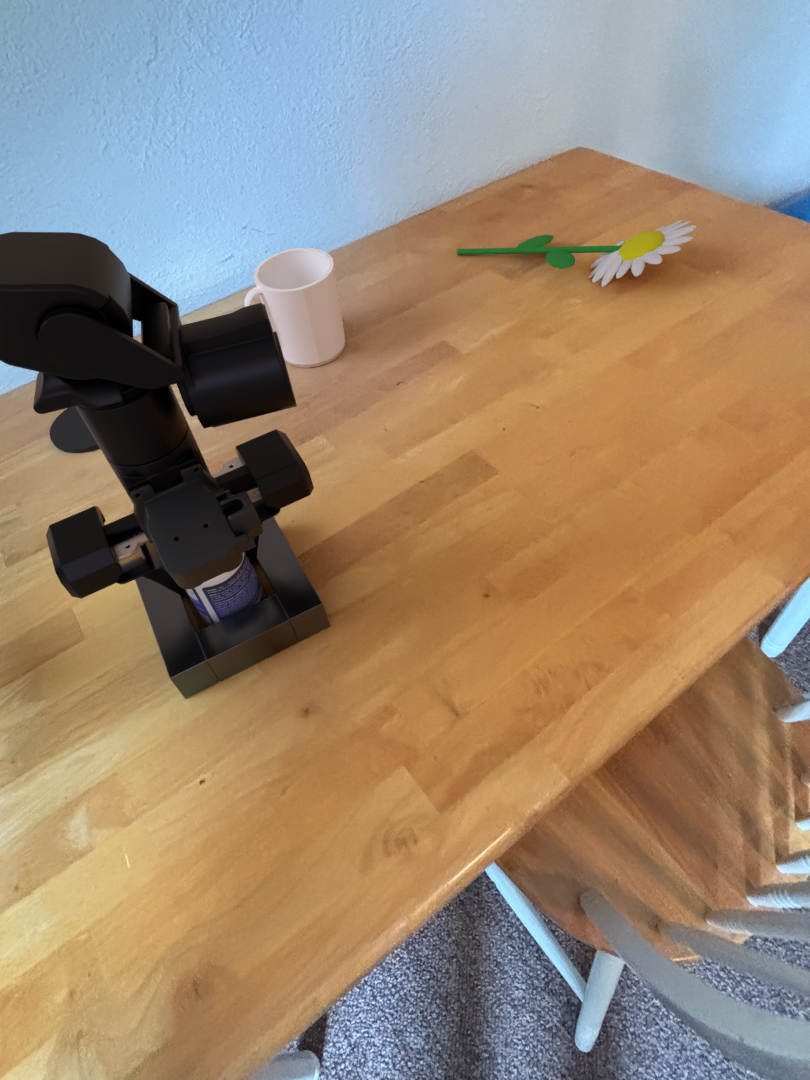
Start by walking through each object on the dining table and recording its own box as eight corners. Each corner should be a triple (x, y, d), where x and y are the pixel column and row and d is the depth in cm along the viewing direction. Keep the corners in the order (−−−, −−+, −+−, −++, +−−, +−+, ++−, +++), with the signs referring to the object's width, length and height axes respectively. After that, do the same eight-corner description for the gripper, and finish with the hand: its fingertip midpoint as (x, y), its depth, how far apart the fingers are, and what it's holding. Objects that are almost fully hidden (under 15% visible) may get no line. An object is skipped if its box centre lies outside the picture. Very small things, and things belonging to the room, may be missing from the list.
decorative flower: (443, 295, 94) (683, 297, 81) (437, 259, 90) (686, 256, 77) (477, 251, 101) (701, 247, 88) (472, 217, 98) (704, 207, 85)
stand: (185, 699, 57) (169, 678, 54) (145, 588, 65) (129, 564, 62) (331, 626, 60) (323, 603, 57) (275, 528, 68) (266, 503, 65)
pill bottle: (273, 580, 64) (241, 506, 56) (258, 635, 60) (222, 564, 52) (212, 579, 64) (173, 506, 57) (194, 633, 61) (149, 562, 53)
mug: (327, 317, 89) (310, 239, 81) (363, 349, 84) (348, 269, 76) (249, 352, 86) (223, 275, 78) (281, 388, 81) (257, 309, 73)
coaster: (59, 464, 77) (56, 460, 76) (45, 419, 82) (43, 415, 82) (139, 432, 79) (137, 428, 78) (120, 390, 84) (118, 386, 84)
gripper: (21, 581, 40) (133, 706, 52) (321, 450, 44) (360, 593, 56) (-3, 465, 46) (100, 600, 58) (259, 361, 51) (306, 506, 63)
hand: (218, 576), depth 59 cm, fingers closed on pill bottle, 6 cm apart
